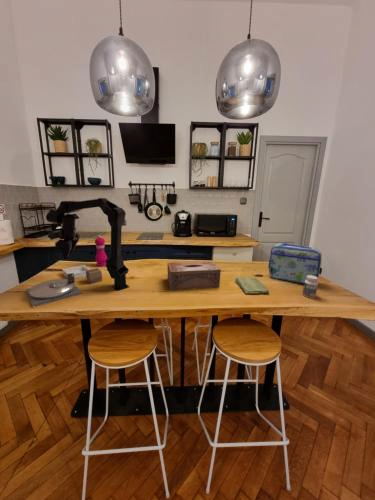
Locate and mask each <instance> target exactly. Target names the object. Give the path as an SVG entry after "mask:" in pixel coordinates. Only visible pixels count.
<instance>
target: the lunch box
mask: <svg viewBox="0 0 375 500" xmlns="http://www.w3.org/2000/svg"><path fill="white" fill-rule="evenodd" d="M269 255H270V256H269V259H268V267H267V268H268V271H269V272H268V273H269V275H270V277H271V278H272V279H275V280H283V281H288V282H294V283H298V284H303V285H304V282H305V280H307V278H306V277H307V275H312V276H316V277H317V278H318V279H319V276H320V270H321V266H322V252H321V251H320V250H319V249H318V248H315V247H312V246H307V245H300V244H299V245H298V244H291V243H287V242H284V243H277V244H275V246H274V245H273V247H272V248H271V250H270V254H269Z"/></svg>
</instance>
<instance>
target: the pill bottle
mask: <svg viewBox="0 0 375 500" xmlns="http://www.w3.org/2000/svg"><path fill="white" fill-rule="evenodd" d="M306 278H307V280H305V282H304V284H303V288H302V295H303V296H304V297H305V296H306V297H305V298H308V297H309V298H308V299H314V298H316V296H317V290H318V286H319V282H318V281H319V280H318V279H319V277H318V278H317V277H316V276H312V275H307V277H306Z"/></svg>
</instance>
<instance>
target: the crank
mask: <svg viewBox="0 0 375 500" xmlns="http://www.w3.org/2000/svg"><path fill="white" fill-rule="evenodd" d="M75 282H76V279H75V278H74V274H73V273H70V274H67V278H57V279H56V278H55V279H50V280H45V281H42V282H39V283H37V284H35V285H33V286H31V288H29V289H30V290H29V293H30V296H31V297H32V298H35V299H50V298H56V297H59V296H63V295H65V294H67V293H69V292H71V291H72V290H73V289H74V288H75V285H76V284H75Z"/></svg>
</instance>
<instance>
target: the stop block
mask: <svg viewBox="0 0 375 500" xmlns="http://www.w3.org/2000/svg"><path fill="white" fill-rule="evenodd" d="M89 269H90V270H86V277H85V279H86V281H87V282H88V283H89V285H93V284H97V283H100V282H103V274H102V270H101V269H99V267H94V268H89Z"/></svg>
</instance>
